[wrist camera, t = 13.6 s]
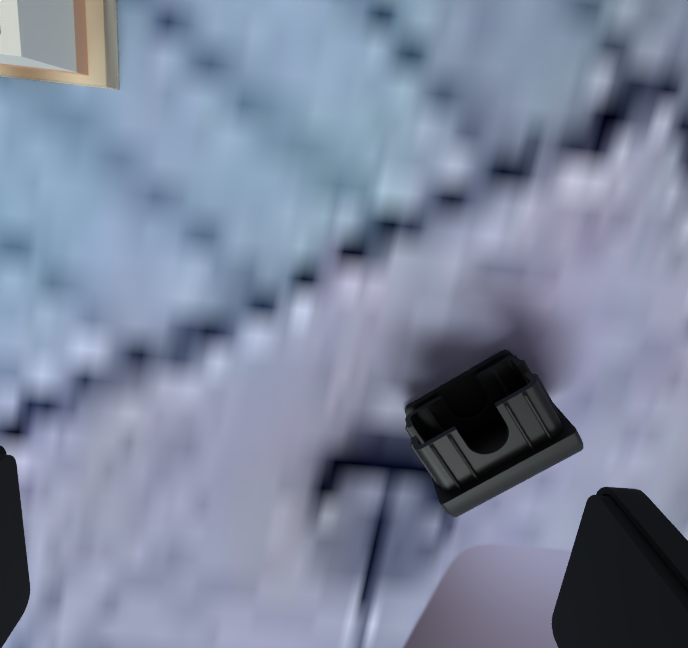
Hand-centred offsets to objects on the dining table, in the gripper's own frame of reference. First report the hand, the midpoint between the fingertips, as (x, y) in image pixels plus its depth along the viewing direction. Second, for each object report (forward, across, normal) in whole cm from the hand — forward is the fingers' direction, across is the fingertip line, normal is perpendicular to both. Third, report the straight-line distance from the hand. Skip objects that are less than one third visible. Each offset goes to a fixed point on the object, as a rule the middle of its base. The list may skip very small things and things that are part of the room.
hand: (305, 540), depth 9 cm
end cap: (+29, -13, +12) cm, 34 cm away
